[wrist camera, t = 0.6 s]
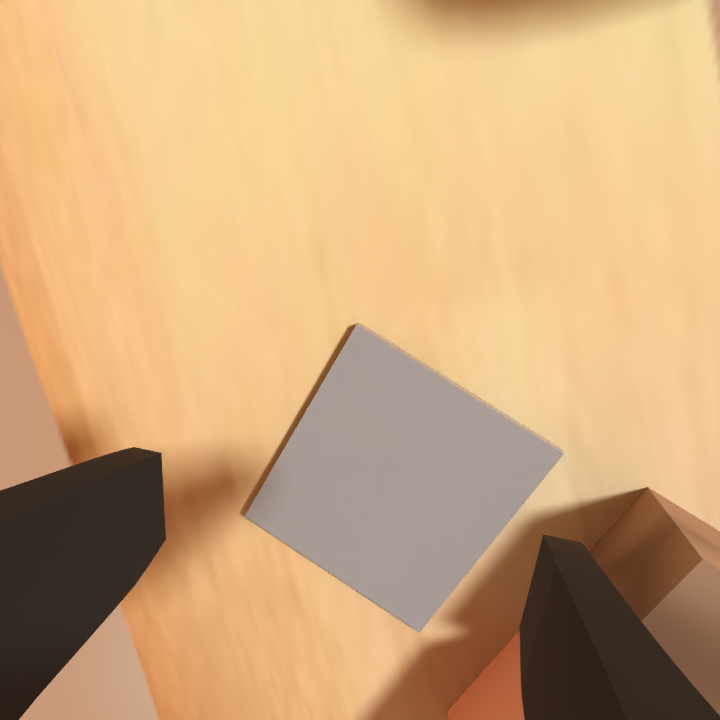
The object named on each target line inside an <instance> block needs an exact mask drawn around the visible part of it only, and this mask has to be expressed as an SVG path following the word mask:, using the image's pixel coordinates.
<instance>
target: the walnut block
mask: <svg viewBox="0 0 720 720" xmlns="http://www.w3.org/2000/svg"><path fill="white" fill-rule="evenodd" d="M589 553H590V554H591V556H592V557H593V558H594V560H595V561H596V562H597V564H598V565H599V566H600V568H601V569H602V570H603V572H604V573H605V574H606V576H607V577H608V578H609V580H610V581H611V582H612V584H613V585H614V586H615V588H616V589H617V590H618V592H619V593H620V594H621V596H622V597H623V598H624V599H625V601H626V602H627V603H628V605H629V606H630V607H631V609H632V610H633V611H634V613H635V614H636V615H637V616H638V618H639V619H640V620H641V622H642V623H643V624H644V625H645V627H646V628H647V629H648V631H649V632H650V633H651V634H652V636H653V637H654V638H655V639H656V641H657V642H658V643H659V644H660V646H661V647H662V648H663V649H664V651H665V652H666V653H667V654H668V655H669V657H670V658H671V659H672V660H673V662H674V663H675V664H676V665H677V666H678V668H679V669H680V670H681V671H682V672H683V674H684V675H685V676H686V677H687V678H688V680H689V681H690V682H691V683H692V684H693V686H694V687H695V688H696V689H697V690H698V691H699V693H700V694H701V695H702V696H703V697H704V698H705V699H706V701H707V702H708V703H709V704H710V705H711V706H712V707H713V709H714V710H715V711H716V712H717V713H718V714H719V715H720V532H719V531H718V530H716V529H715V528H713V527H711V526H710V525H708V524H706V523H705V522H703V521H702V520H700V519H698V518H697V517H695V516H694V515H692V514H690V513H689V512H687V511H685V510H684V509H682V508H681V507H679V506H677V505H676V504H674V503H673V502H671V501H669V500H668V499H666V498H664V497H663V496H661V495H660V494H658V493H656V492H655V491H653V490H651V489H650V488H648V487H647V489H646V490H645V491H644V492H643V493H642V494H641V495H640V496H639V497H638V499H637V500H636V501H635V502H634V503H633V504H632V505H631V506H630V508H629V509H628V510H627V511H626V512H625V513H624V514H623V515H622V517H621V518H620V519H619V520H618V521H617V522H616V523H615V524H614V526H613V527H612V528H611V529H610V530H609V531H608V532H607V533H606V534H605V536H604V537H603V538H602V539H601V540H600V541H599V542H598V543H597V545H596V546H595V547H594V548H593V549H592V550H591V551H590V552H589Z"/></svg>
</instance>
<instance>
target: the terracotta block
mask: <svg viewBox="0 0 720 720" xmlns="http://www.w3.org/2000/svg"><path fill="white" fill-rule="evenodd" d="M447 720H525V718H524V711H523V702H522V694H521V670H520V630H519V631H518V633H517V634H516V635H515V636H514V637H513V638H512V639H511V640H510V641H509V643H508V644H507V645H506V646H505V647H504V648H503V649H502V650H501V652H500V653H499V654H498V655H497V656H496V657H495V658H494V659H493V661H492V662H491V663H490V664H489V665H488V666H487V667H486V668H485V670H484V671H483V672H482V673H481V674H480V675H479V676H478V677H477V678H476V680H475V681H474V682H473V683H472V684H471V685H470V686H469V687H468V689H467V690H466V691H465V692H464V693H463V694H462V695H461V696H460V698H459V699H458V700H457V701H456V702H455V703H454V704H453V705H452V707H451V708H450V709H449V710H448V719H447Z"/></svg>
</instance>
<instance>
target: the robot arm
mask: <svg viewBox="0 0 720 720" xmlns="http://www.w3.org/2000/svg"><path fill="white" fill-rule="evenodd" d="M165 540H166V534H165V515H164V496H163V477H162V458H161V453H158V452H154V451H149V450H144V449H140V448H135V447H133V448H129V449H125V450H121V451H117V452H114V453H110V454H107V455H104V456H101V457H98V458H95V459H92V460H89V461H86V462H83V463H80V464H77V465H74V466H71V467H68V468H65V469H63V470H59V471H56V472H54V473H51V474H48V475H45V476H42V477H39V478H36V479H33V480H30V481H28V482H24V483H21V484H19V485H16V486H13V487H10V488H7V489H4V490H1V491H0V720H19V719H20V717H21V716H22V715H23V714H24V713H25V711H26V710H27V709H28V708H29V706H30V705H31V704H32V703H33V702H34V700H35V699H36V698H37V697H38V696H39V695H40V693H41V692H42V691H43V690H44V689H45V688H46V687H47V685H48V684H49V683H50V682H51V681H52V680H53V679H54V677H55V676H56V675H57V674H58V673H59V672H60V671H61V669H62V668H63V667H64V666H65V665H66V664H67V663H68V662H69V660H70V659H71V658H72V657H73V656H74V655H75V654H76V652H77V651H78V650H79V649H80V648H81V647H82V645H83V644H84V643H85V642H86V641H87V640H88V639H89V638H90V637H91V635H92V634H93V633H94V632H95V631H96V629H97V628H98V627H99V626H100V625H101V624H102V623H103V622H104V621H105V619H106V618H107V617H108V616H109V615H110V614H111V612H112V611H113V610H114V609H115V608H116V607H117V606H118V604H119V603H120V602H121V601H122V600H123V599H124V597H125V596H126V595H127V594H128V593H129V591H130V590H131V589H132V588H133V587H134V586H135V584H136V583H137V581H138V580H139V578H140V577H141V576H142V574H143V573H144V571H145V570H146V568H147V567H148V566H149V564H150V563H151V561H152V560H153V558H154V557H155V555H156V553H157V552H158V550H159V549H160V547H161V546H162V544H163V543H164V541H165ZM520 670H521V694H522V702H523V711H524V718H525V720H720V715H719V714H718V713H717V712H716V711H715V710H714V709H713V707H712V706H711V705H710V704H709V703H708V702H707V701H706V699H705V698H704V697H703V696H702V695H701V694H700V693H699V691H698V690H697V689H696V688H695V687H694V686H693V684H692V683H691V682H690V681H689V680H688V678H687V677H686V676H685V675H684V674H683V672H682V671H681V670H680V669H679V668H678V666H677V665H676V664H675V663H674V662H673V660H672V659H671V658H670V657H669V655H668V654H667V653H666V652H665V651H664V649H663V648H662V647H661V646H660V644H659V643H658V642H657V641H656V639H655V638H654V637H653V636H652V634H651V633H650V632H649V631H648V629H647V628H646V627H645V625H644V624H643V623H642V622H641V620H640V619H639V618H638V616H637V615H636V614H635V613H634V611H633V610H632V609H631V607H630V606H629V605H628V603H627V602H626V601H625V599H624V598H623V597H622V596H621V594H620V593H619V592H618V590H617V589H616V588H615V586H614V585H613V584H612V582H611V581H610V580H609V578H608V577H607V576H606V574H605V573H604V572H603V570H602V569H601V568H600V566H599V565H598V564H597V562H596V561H595V560H594V558H593V557H592V556H591V554H590V553H589V552H588V550H587V549H586V548H585V546H584V545H583V544H582V543H579V542H575V541H570V540H565V539H561V538H556V537H551V536H547V535H543V539H542V543H541V547H540V551H539V554H538V558H537V562H536V566H535V570H534V574H533V578H532V582H531V586H530V590H529V594H528V597H527V601H526V605H525V609H524V613H523V617H522V621H521V625H520Z"/></svg>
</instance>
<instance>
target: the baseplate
mask: <svg viewBox="0 0 720 720" xmlns="http://www.w3.org/2000/svg"><path fill="white" fill-rule="evenodd" d="M563 454H564V453H563V451H562V449H560V448H559V447H557V446H555V445H554V444H552V443H550V442H549V441H547V440H546V439H544V438H542V437H541V436H539V435H538V434H536V433H534V432H533V431H531V430H530V429H528V428H526V427H525V426H523V425H522V424H520V423H518V422H517V421H515V420H514V419H512V418H510V417H509V416H507V415H506V414H504V413H502V412H501V411H499V410H497V409H496V408H494V407H493V406H491V405H489V404H488V403H486V402H485V401H483V400H481V399H480V398H478V397H477V396H475V395H473V394H472V393H470V392H469V391H467V390H465V389H464V388H462V387H461V386H459V385H457V384H456V383H454V382H453V381H451V380H449V379H448V378H446V377H444V376H443V375H441V374H440V373H438V372H436V371H435V370H433V369H432V368H430V367H428V366H427V365H425V364H424V363H422V362H420V361H419V360H417V359H416V358H414V357H412V356H411V355H409V354H408V353H406V352H404V351H403V350H401V349H400V348H398V347H396V346H395V345H393V344H392V343H390V342H388V341H387V340H385V339H383V338H382V337H380V336H379V335H377V334H375V333H374V332H372V331H371V330H369V329H367V328H366V327H364V326H363V325H361V324H359V323H358V324H356V326H355V328H354V329H353V331H352V333H351V335H350V336H349V338H348V340H347V341H346V343H345V345H344V347H343V348H342V350H341V352H340V353H339V355H338V357H337V359H336V360H335V362H334V364H333V365H332V367H331V369H330V371H329V372H328V374H327V376H326V377H325V379H324V381H323V383H322V384H321V386H320V388H319V389H318V391H317V393H316V395H315V396H314V398H313V400H312V401H311V403H310V405H309V406H308V408H307V410H306V412H305V413H304V415H303V417H302V418H301V420H300V422H299V424H298V425H297V427H296V429H295V430H294V432H293V434H292V436H291V437H290V439H289V441H288V442H287V444H286V446H285V448H284V449H283V451H282V453H281V454H280V456H279V458H278V460H277V461H276V463H275V465H274V466H273V468H272V470H271V472H270V473H269V475H268V477H267V478H266V480H265V482H264V484H263V485H262V487H261V489H260V490H259V492H258V494H257V496H256V497H255V499H254V501H253V502H252V504H251V506H250V508H249V509H248V511H247V513H246V514H245V517H246V518H248V519H249V520H251V521H252V522H254V523H255V524H257V525H258V526H260V527H261V528H263V529H264V530H266V531H267V532H269V533H270V534H272V535H273V536H275V537H276V538H278V539H279V540H281V541H282V542H284V543H285V544H287V545H288V546H290V547H291V548H293V549H294V550H296V551H297V552H299V553H300V554H302V555H303V556H305V557H306V558H308V559H309V560H311V561H312V562H314V563H315V564H317V565H318V566H320V567H321V568H323V569H324V570H326V571H327V572H329V573H330V574H332V575H333V576H335V577H336V578H338V579H339V580H341V581H342V582H344V583H345V584H347V585H348V586H350V587H351V588H353V589H355V590H356V591H358V592H359V593H361V594H362V595H364V596H365V597H367V598H368V599H370V600H371V601H373V602H374V603H376V604H377V605H379V606H380V607H382V608H383V609H385V610H386V611H388V612H389V613H391V614H392V615H394V616H395V617H397V618H398V619H400V620H401V621H403V622H404V623H406V624H407V625H409V626H410V627H412V628H413V629H415V630H416V631H418V632H419V633H420V631H421V630H422V629H423V628H424V626H425V625H426V624H427V623H428V622H429V620H430V619H431V618H432V617H433V615H434V614H435V613H436V612H437V610H438V609H439V608H440V607H441V605H442V604H443V603H444V602H445V600H446V599H447V598H448V597H449V595H450V594H451V593H452V592H453V590H454V589H455V588H456V587H457V586H458V584H459V583H460V582H461V581H462V579H463V578H464V577H465V576H466V574H467V573H468V572H469V571H470V569H471V568H472V567H473V566H474V564H475V563H476V562H477V561H478V559H479V558H480V557H481V556H482V555H483V553H484V552H485V551H486V550H487V548H488V547H489V546H490V545H491V543H492V542H493V541H494V540H495V538H496V537H497V536H498V535H499V533H500V532H501V531H502V530H503V528H504V527H505V526H506V525H507V523H508V522H509V521H510V520H511V519H512V517H513V516H514V515H515V514H516V512H517V511H518V510H519V509H520V507H521V506H522V505H523V504H524V502H525V501H526V500H527V499H528V497H529V496H530V495H531V494H532V492H533V491H534V490H535V489H536V488H537V486H538V485H539V484H540V483H541V481H542V480H543V479H544V478H545V476H546V475H547V474H548V473H549V471H550V470H551V469H552V468H553V466H554V465H555V464H556V463H557V461H558V460H559V459H560V458H561V456H562V455H563Z"/></svg>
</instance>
